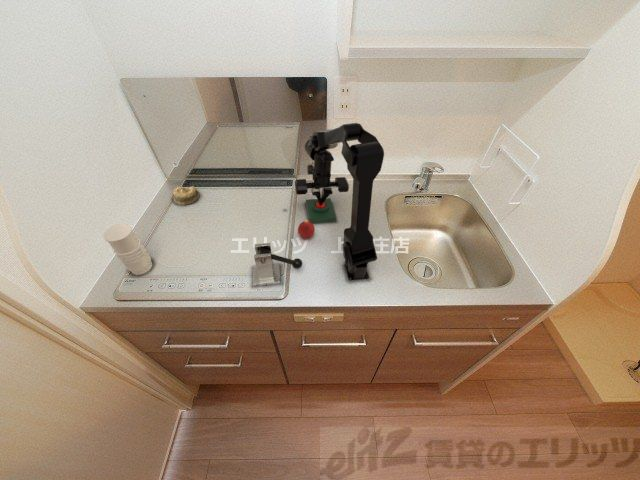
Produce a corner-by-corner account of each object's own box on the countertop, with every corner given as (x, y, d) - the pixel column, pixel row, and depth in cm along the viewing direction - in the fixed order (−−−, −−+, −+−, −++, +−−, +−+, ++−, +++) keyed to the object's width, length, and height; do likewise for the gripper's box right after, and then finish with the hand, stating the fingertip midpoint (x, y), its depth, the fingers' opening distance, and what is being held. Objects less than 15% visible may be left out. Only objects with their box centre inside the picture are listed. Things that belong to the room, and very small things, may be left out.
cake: (199, 204, 106) (195, 194, 102) (172, 207, 104) (167, 197, 100) (200, 188, 112) (196, 177, 108) (175, 191, 110) (170, 180, 106)
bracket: (279, 265, 86) (276, 239, 77) (280, 283, 81) (277, 258, 72) (253, 267, 85) (248, 242, 76) (253, 286, 80) (247, 260, 71)
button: (325, 210, 102) (326, 206, 101) (316, 211, 102) (316, 207, 100) (324, 204, 104) (324, 201, 103) (315, 205, 104) (315, 201, 103)
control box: (335, 221, 101) (336, 213, 98) (309, 223, 100) (309, 215, 97) (330, 202, 110) (330, 194, 107) (305, 203, 108) (305, 195, 105)
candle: (150, 274, 81) (127, 240, 70) (125, 277, 80) (98, 242, 69) (156, 257, 86) (135, 222, 75) (133, 259, 85) (108, 224, 74)
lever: (298, 263, 84) (303, 257, 82) (299, 272, 81) (305, 265, 80) (256, 252, 77) (260, 245, 75) (256, 260, 75) (260, 253, 73)
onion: (312, 244, 93) (312, 227, 87) (296, 241, 93) (295, 224, 87) (315, 233, 97) (316, 216, 91) (300, 230, 97) (300, 213, 91)
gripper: (344, 154, 97) (340, 190, 109) (292, 156, 95) (294, 193, 106) (351, 171, 90) (346, 207, 101) (295, 174, 87) (296, 211, 98)
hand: (320, 204), depth 102 cm, fingers closed, pressing on button
